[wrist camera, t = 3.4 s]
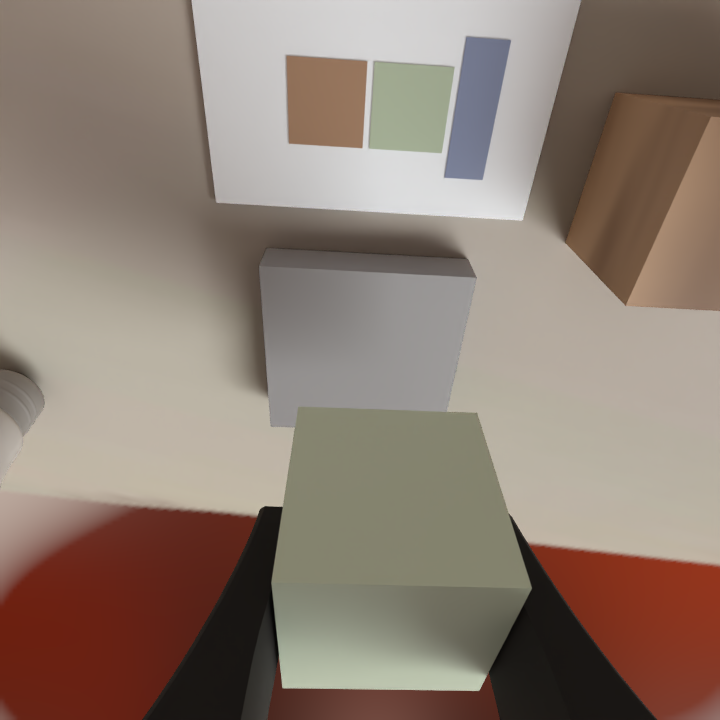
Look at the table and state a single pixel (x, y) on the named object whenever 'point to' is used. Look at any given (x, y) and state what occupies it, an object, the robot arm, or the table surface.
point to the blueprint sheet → (380, 101)
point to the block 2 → (654, 203)
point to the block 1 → (393, 553)
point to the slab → (361, 330)
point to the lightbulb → (16, 414)
